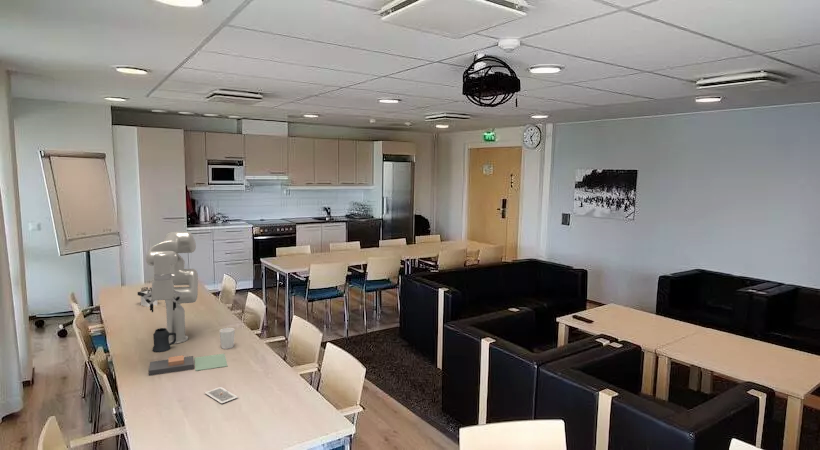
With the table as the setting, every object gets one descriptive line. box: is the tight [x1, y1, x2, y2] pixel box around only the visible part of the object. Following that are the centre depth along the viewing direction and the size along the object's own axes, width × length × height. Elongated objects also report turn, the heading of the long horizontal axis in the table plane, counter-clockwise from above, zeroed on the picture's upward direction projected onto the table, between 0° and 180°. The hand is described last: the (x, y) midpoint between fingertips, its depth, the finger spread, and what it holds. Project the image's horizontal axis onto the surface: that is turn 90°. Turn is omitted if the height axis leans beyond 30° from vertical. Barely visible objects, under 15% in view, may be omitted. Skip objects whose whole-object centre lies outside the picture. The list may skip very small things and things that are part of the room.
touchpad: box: [204, 386, 239, 404], centre depth 211 cm, size 8×15×2 cm, turn 51°
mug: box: [151, 327, 176, 353], centre depth 265 cm, size 12×9×11 cm
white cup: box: [219, 327, 235, 350], centre depth 270 cm, size 8×8×10 cm
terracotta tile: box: [167, 355, 185, 366], centre depth 241 cm, size 7×7×2 cm
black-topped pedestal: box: [137, 286, 158, 308], centre depth 349 cm, size 28×26×13 cm
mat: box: [193, 353, 228, 372], centre depth 248 cm, size 18×15×1 cm
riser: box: [148, 355, 195, 376], centre depth 240 cm, size 12×20×2 cm, turn 116°
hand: (163, 310), depth 242 cm, fingers open, 9 cm apart
